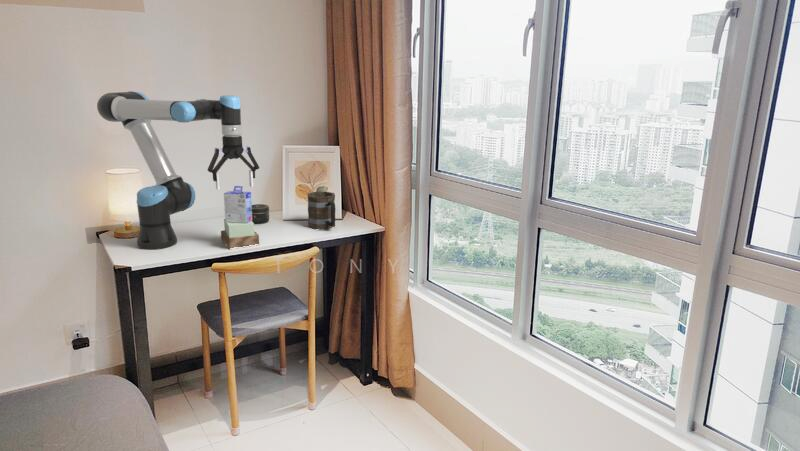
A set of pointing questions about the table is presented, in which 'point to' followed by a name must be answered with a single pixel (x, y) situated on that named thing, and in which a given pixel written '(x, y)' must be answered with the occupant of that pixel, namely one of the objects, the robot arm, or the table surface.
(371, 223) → the table surface
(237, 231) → the sage top block
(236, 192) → the ink cartridge box
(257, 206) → the jar
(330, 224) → the mug
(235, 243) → the walnut base block
